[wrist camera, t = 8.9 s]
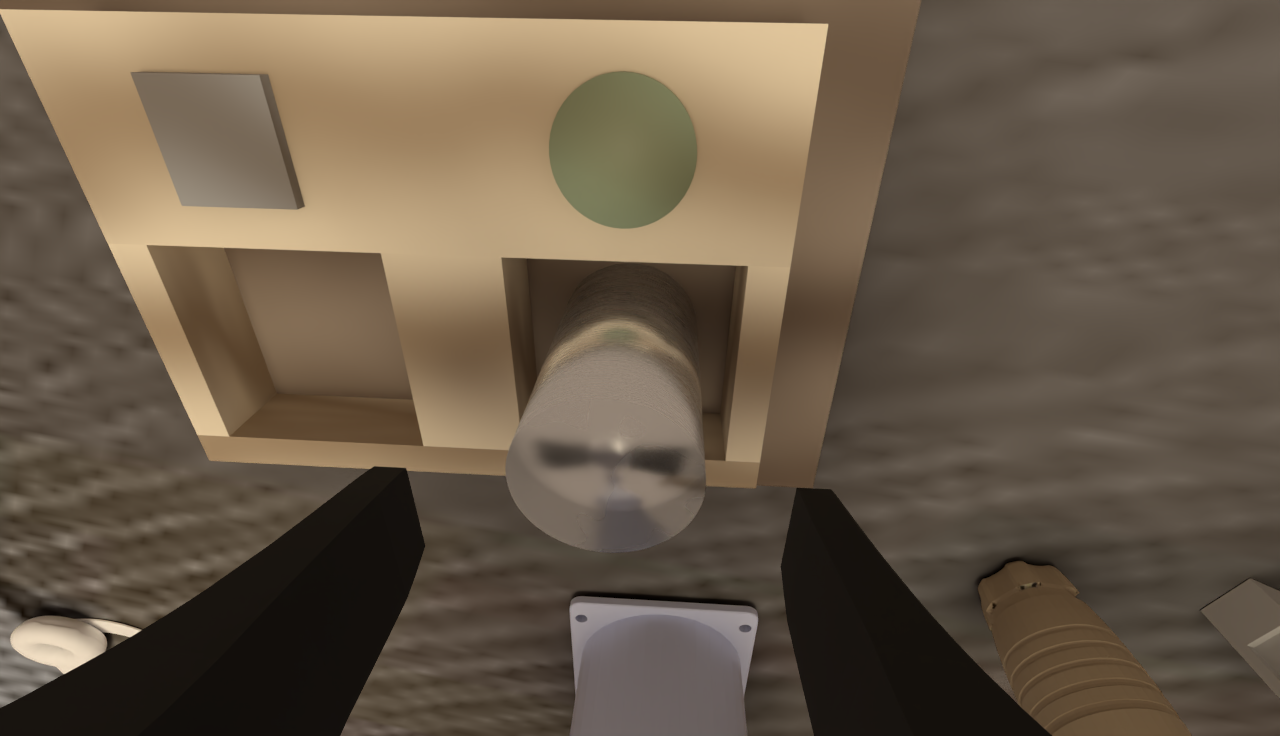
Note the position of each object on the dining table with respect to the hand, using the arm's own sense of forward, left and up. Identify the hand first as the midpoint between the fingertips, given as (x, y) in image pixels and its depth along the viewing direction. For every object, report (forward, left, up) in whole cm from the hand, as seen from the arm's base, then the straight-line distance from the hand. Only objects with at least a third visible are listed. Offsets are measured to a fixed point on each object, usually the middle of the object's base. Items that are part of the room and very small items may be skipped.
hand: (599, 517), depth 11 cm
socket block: (+2, +5, -8) cm, 10 cm away
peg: (0, 0, -8) cm, 8 cm away
